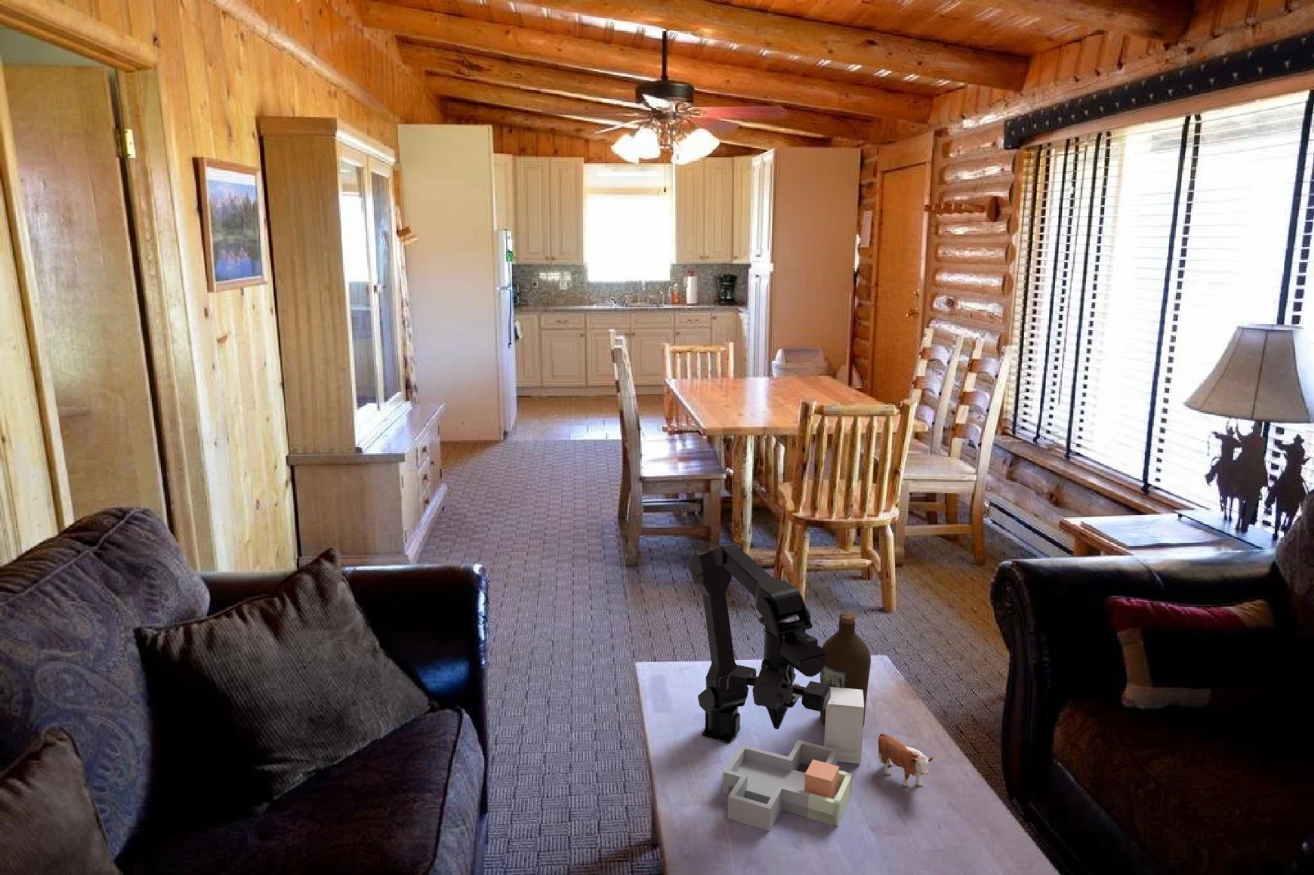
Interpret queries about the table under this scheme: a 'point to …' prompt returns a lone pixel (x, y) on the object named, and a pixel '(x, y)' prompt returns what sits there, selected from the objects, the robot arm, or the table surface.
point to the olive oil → (846, 660)
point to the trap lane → (781, 786)
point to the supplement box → (845, 723)
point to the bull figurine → (902, 758)
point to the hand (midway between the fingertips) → (776, 728)
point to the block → (822, 779)
